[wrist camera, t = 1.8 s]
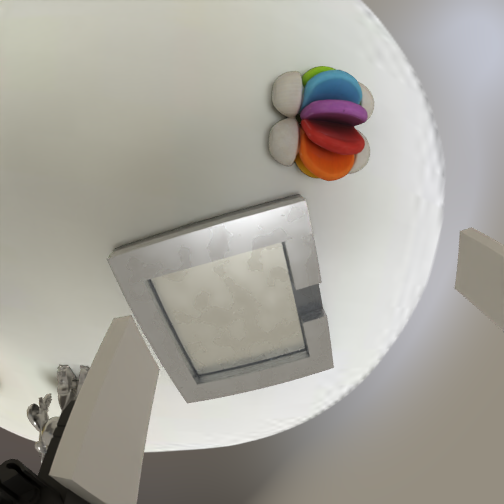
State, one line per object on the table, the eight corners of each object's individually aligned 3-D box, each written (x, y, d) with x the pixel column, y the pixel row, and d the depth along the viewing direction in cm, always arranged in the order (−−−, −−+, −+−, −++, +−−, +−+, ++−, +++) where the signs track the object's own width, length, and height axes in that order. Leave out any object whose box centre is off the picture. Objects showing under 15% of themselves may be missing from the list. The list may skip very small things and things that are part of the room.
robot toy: (132, 365, 33) (106, 469, 19) (146, 396, 35) (130, 493, 21) (41, 361, 32) (0, 442, 18) (59, 391, 34) (28, 469, 20)
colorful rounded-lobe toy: (263, 171, 26) (279, 185, 19) (271, 64, 22) (290, 42, 15) (352, 179, 27) (391, 196, 20) (361, 81, 23) (403, 70, 16)
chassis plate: (115, 248, 27) (106, 258, 24) (298, 194, 27) (306, 200, 24) (188, 388, 35) (187, 403, 32) (327, 354, 34) (333, 367, 32)
